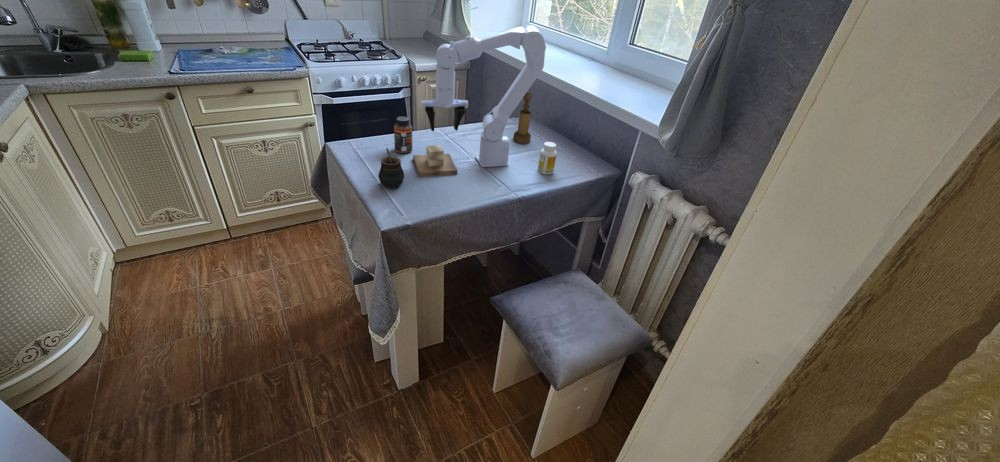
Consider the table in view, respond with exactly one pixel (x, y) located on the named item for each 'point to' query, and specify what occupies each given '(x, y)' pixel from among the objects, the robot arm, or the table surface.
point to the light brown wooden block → (427, 170)
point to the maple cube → (435, 155)
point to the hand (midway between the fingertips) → (444, 129)
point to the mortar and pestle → (524, 122)
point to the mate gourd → (391, 172)
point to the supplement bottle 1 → (403, 135)
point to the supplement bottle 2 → (547, 158)
